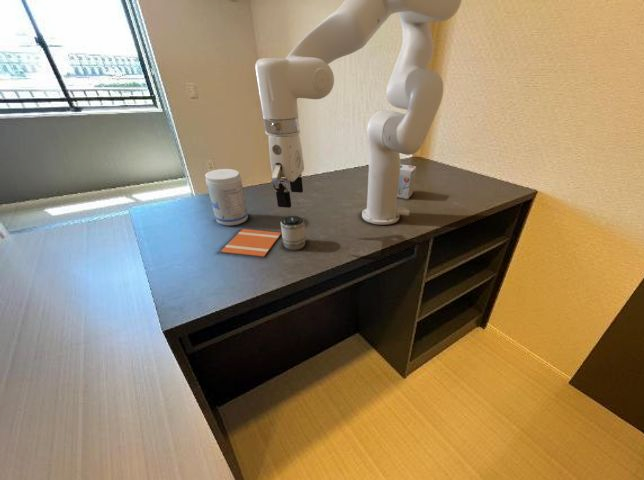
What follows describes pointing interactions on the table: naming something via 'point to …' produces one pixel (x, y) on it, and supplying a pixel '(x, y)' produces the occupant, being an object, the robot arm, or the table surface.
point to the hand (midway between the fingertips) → (291, 199)
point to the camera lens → (293, 232)
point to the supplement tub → (227, 196)
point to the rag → (251, 242)
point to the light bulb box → (406, 181)
